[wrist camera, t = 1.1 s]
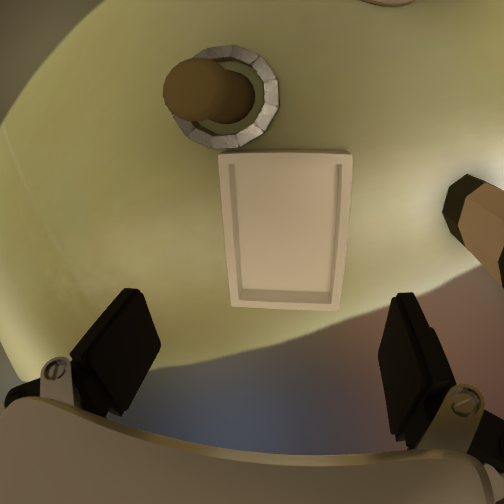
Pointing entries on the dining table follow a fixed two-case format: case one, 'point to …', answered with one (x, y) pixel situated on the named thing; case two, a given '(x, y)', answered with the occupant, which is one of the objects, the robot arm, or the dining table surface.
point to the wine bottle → (478, 221)
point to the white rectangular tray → (286, 226)
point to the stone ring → (266, 113)
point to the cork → (207, 92)
